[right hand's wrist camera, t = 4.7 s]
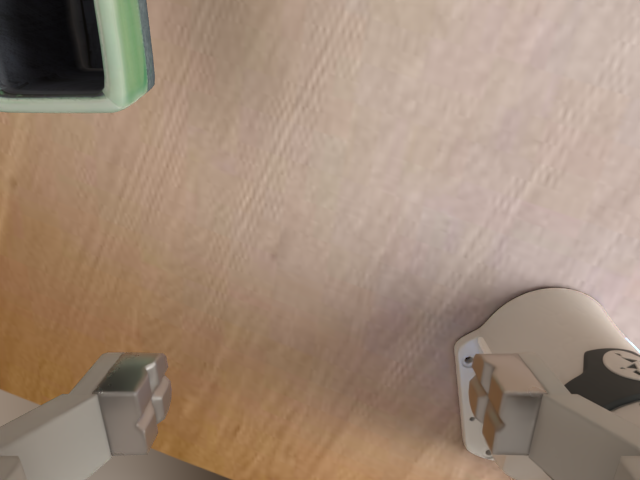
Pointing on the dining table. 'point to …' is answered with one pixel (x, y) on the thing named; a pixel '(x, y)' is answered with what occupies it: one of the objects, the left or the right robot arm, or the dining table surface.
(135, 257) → the dining table surface
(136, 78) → the planter
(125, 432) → the right robot arm
